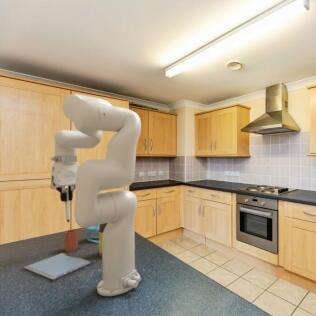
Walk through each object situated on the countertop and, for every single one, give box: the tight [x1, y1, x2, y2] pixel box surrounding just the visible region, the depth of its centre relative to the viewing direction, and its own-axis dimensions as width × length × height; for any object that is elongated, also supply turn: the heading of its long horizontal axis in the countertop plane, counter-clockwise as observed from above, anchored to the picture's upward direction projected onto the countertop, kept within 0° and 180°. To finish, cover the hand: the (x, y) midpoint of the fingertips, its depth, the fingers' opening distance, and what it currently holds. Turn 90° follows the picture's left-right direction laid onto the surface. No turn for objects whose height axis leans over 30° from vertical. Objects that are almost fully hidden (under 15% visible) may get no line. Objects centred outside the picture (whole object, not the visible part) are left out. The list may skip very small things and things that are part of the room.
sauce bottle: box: [98, 223, 108, 258], centre depth 93 cm, size 7×6×20 cm
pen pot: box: [64, 228, 79, 253], centre depth 97 cm, size 5×5×9 cm
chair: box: [85, 225, 100, 244], centre depth 108 cm, size 8×8×12 cm
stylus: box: [64, 187, 71, 223], centre depth 94 cm, size 1×1×15 cm
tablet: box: [22, 252, 92, 282], centre depth 83 cm, size 20×13×1 cm, turn 66°
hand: (66, 200), depth 94 cm, fingers closed on stylus, 1 cm apart
